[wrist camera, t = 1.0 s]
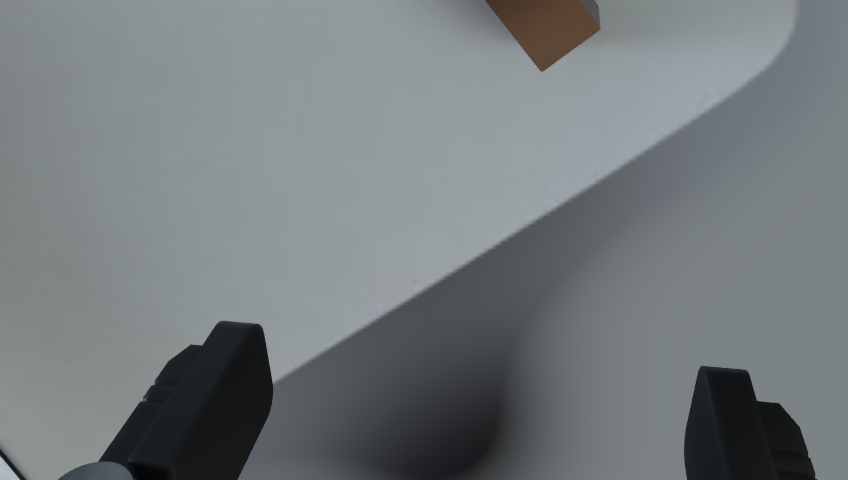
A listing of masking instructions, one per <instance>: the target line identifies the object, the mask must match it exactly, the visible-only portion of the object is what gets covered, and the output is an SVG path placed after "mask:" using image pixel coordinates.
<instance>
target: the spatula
mask: <svg viewBox="0 0 848 480" xmlns="http://www.w3.org/2000/svg"><path fill="white" fill-rule="evenodd" d="M485 1H486V2H487V4H488V5H489V6H490V7H491V9H492V10H493V11H494V13H495V14H496V15H497V16H498V18H499V19H500V20H501V21H502V23H503V24H504V25H505V27H506V28H507V29H508V30H509V32H510V33H511V34H512V35H513V37H514V38H515V39H516V41H517V42H518V43H519V44H520V46H521V47H522V48H523V49H524V51H525V52H526V53H527V55H528V56H529V57H530V58H531V60H532V61H533V62H534V63H535V65H536V66H537V67H538V69H539V70H540V71H541V72H542V71H544V70H545V69H547V68H548V67H550V66H551V65H552V64H554V63H555V62H556V61H558V60H559V59H561V58H562V57H563V56H565V55H566V54H567V53H569V52H570V51H571V50H573V49H574V48H576V47H577V46H578V45H580V44H581V43H582V42H584V41H585V40H586V39H588V38H589V37H591V36H592V35H593V34H595V33H596V32H597V31H599V30H600V18H599V7H598V5H597V4H596V2H595V1H594V0H485Z"/></svg>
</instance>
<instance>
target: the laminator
mask: <svg viewBox="0 0 848 480" xmlns="http://www.w3.org/2000/svg"><path fill="white" fill-rule="evenodd" d="M0 480H25V479H24V478H23V477H22V475H21V474H20V473H19V472H18V470H17V469H16V468H15V467H14V466H13V465H12V463H11V462H10V461H9V460H8V458H7V457H6V456H5V455H4V454H3V452H2V451H1V450H0Z"/></svg>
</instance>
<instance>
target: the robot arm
mask: <svg viewBox="0 0 848 480" xmlns="http://www.w3.org/2000/svg"><path fill="white" fill-rule="evenodd" d="M272 397H273V383H272V377H271V371H270V365H269V360H268V354H267V348H266V342H265V336H264V332H263V329H262V327H261V325H259V324H253V323H242V322H231V321H220V322H219V323H217V325H216V326H215V327H214V329H213V330H212V332H211V333H210V335H209V336H208V338H207V339H206V341H205V342H204V344H203V345H202V346H201V345H190V346H188V347H187V348H186V349H184V350H183V351H182V352H180V353H179V354H178V355H176V356H175V357H174V358H172V359H171V360H170V361H168V363H167V364H166V366H165V367H164V368H163V370H162V371H161V373H160V374H159V376H158V377H157V378H156V380H155V384H154V385H152V386H151V387H150V388H149V390H148V391H147V393H146V394H145V396H144V397H143V402H140V403H139V404H138V406H137V407H136V408H135V410H134V411H133V413H132V414H131V416H130V417H129V418H128V420H127V421H126V423H125V424H124V425H123V427H122V428H121V430H120V431H119V433H118V434H117V435H116V437H115V438H114V440H113V441H112V443H111V444H110V445H109V447H108V448H107V450H106V451H105V453H104V454H103V455H102V457H101V458H100V460H99V461H98V462H94V463H89V464H86V465H83V466H80V467H78V468H75V469H73V470H71V471H70V472H68V473H66V474H65V475H63V476H62V477H60V478H59V479H58V480H237V479H238V477H239V475H240V473H241V471H242V469H243V467H244V465H245V463H246V461H247V459H248V457H249V455H250V453H251V450H252V449H253V446H254V444H255V442H256V440H257V438H258V436H259V434H260V432H261V430H262V428H263V426H264V424H265V422H266V420H267V418H268V415H269V412H270V409H271V405H272ZM684 459H685V468H686V475H687V480H817V479H815V471H814V468H813V465H812V462H811V459H810V458H808V451H807V448H806V445H805V442H804V439H803V436H802V433H801V430H800V427H799V426H798V425H797V424H796V422H795V421H794V420H793V419H792V418H791V417H790V415H789V414H788V413H787V412H786V411H785V410H784V409H783V407H782V406H781V405H780V404H779V403H769V402H760V401H757V400H756V397H755V393H754V390H753V386H752V382H751V379H750V376H749V373H748V372H747V371H746V370H740V369H730V368H719V367H708V366H701V367H700V369H699V371H698V375H697V380H696V384H695V389H694V394H693V398H692V403H691V408H690V412H689V417H688V422H687V426H686V433H685V443H684Z"/></svg>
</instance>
